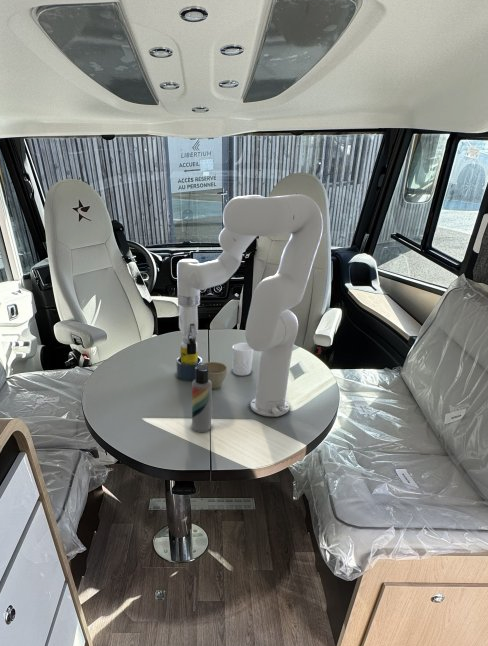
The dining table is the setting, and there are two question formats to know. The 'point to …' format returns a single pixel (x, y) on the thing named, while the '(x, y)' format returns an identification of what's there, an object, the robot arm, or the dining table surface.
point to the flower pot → (216, 373)
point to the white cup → (242, 359)
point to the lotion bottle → (201, 399)
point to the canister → (186, 370)
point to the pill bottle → (185, 357)
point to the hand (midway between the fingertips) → (189, 349)
